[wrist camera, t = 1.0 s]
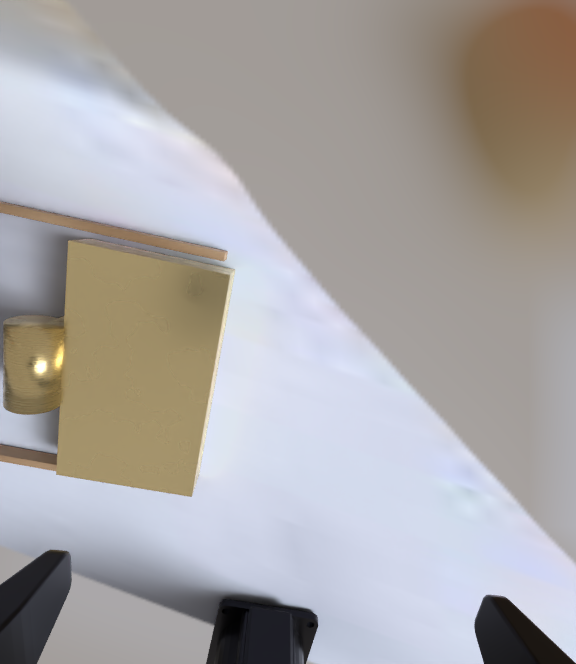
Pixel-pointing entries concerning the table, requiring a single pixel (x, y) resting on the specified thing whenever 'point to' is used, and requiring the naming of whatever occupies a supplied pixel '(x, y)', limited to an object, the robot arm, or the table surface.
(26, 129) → the table surface
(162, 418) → the brass hinge plate
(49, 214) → the guide rails
